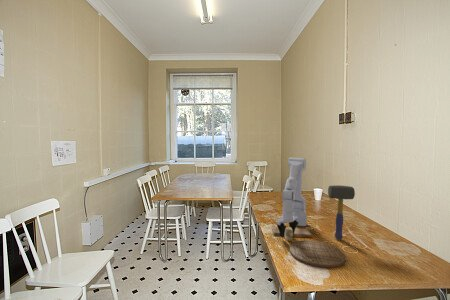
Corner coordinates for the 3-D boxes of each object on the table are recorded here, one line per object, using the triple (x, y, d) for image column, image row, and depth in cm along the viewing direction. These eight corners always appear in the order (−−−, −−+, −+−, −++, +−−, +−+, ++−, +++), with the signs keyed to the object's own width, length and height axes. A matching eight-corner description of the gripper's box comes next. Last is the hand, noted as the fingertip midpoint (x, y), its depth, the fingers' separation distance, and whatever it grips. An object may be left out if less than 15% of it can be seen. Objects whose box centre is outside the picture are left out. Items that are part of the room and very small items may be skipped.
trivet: (353, 272, 104) (353, 267, 103) (292, 265, 108) (292, 261, 107) (336, 246, 128) (336, 242, 128) (287, 241, 132) (287, 238, 132)
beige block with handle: (287, 231, 146) (288, 222, 145) (292, 241, 132) (293, 231, 132) (281, 231, 146) (282, 222, 146) (286, 240, 132) (286, 230, 132)
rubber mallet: (328, 241, 134) (331, 186, 132) (324, 235, 141) (327, 183, 140) (352, 243, 132) (356, 187, 130) (347, 237, 140) (350, 184, 138)
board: (307, 231, 147) (307, 228, 147) (311, 237, 138) (311, 234, 138) (271, 229, 148) (271, 226, 148) (273, 235, 139) (273, 232, 139)
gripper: (291, 207, 142) (290, 230, 143) (273, 211, 135) (272, 235, 135) (301, 210, 136) (300, 234, 137) (282, 214, 129) (281, 240, 129)
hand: (286, 235), depth 136 cm, fingers open, 7 cm apart
